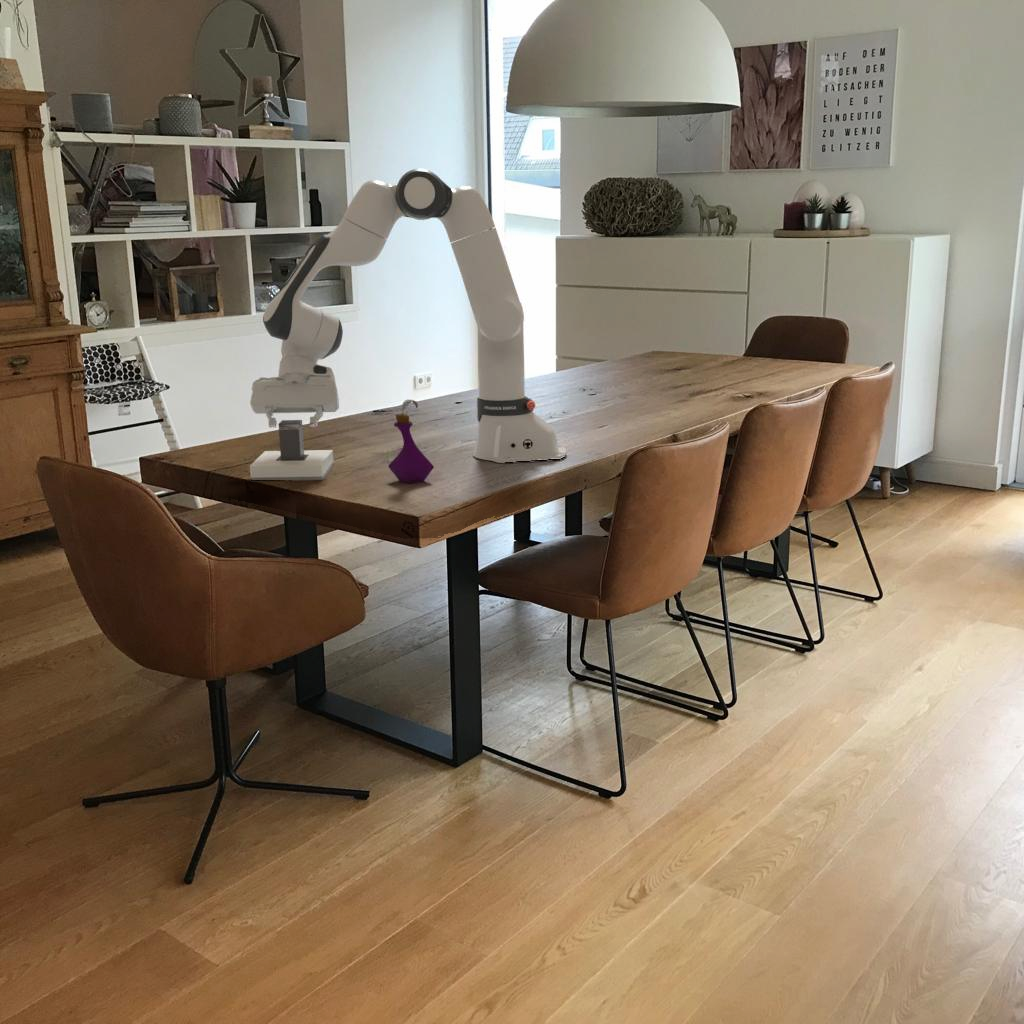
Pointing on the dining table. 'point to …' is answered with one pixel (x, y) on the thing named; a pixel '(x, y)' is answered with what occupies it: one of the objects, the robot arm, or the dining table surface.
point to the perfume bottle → (409, 453)
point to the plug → (291, 440)
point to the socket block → (292, 466)
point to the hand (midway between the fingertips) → (292, 425)
